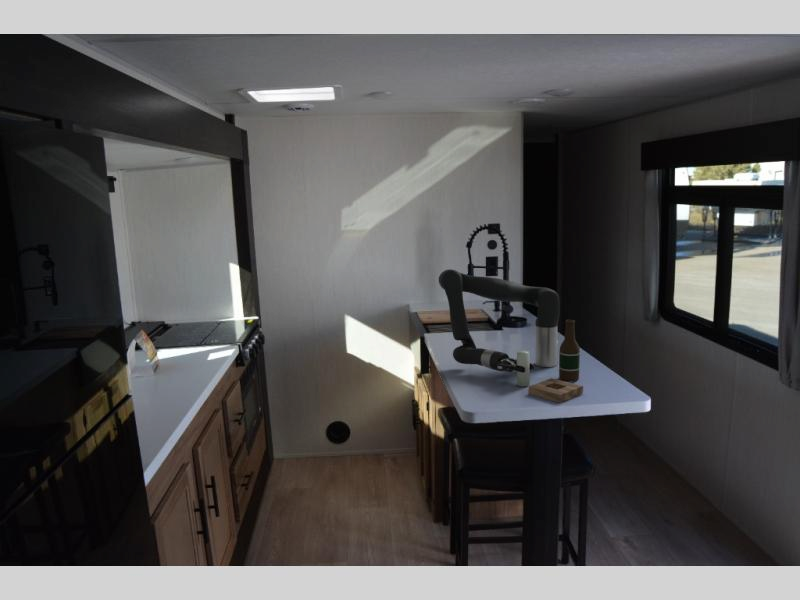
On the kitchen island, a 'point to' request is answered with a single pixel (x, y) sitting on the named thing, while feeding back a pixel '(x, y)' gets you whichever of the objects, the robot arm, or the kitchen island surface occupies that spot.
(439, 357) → the kitchen island surface
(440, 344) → the kitchen island surface
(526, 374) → the pale green cylinder
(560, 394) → the walnut block
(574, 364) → the beer bottle
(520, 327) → the kitchen island surface
